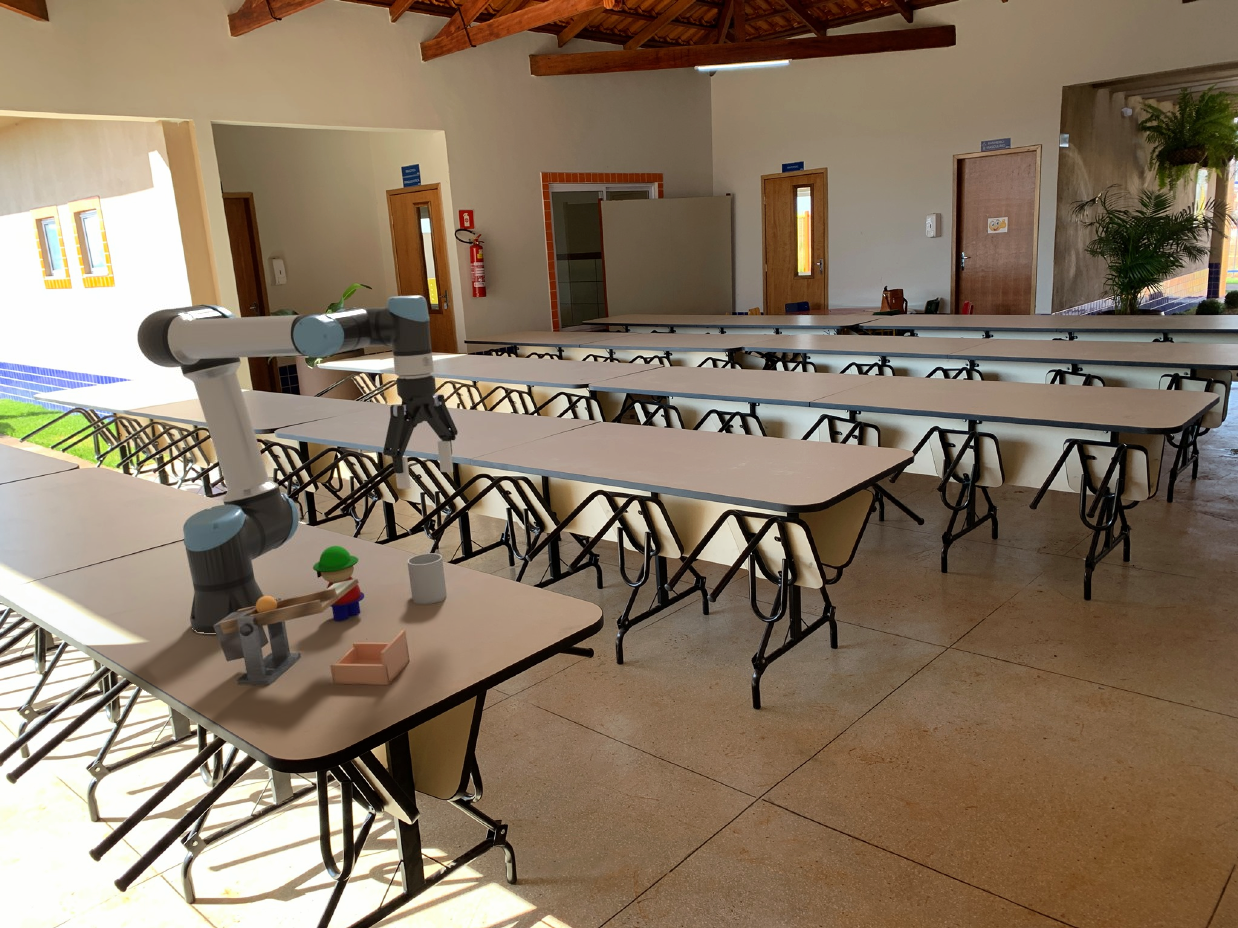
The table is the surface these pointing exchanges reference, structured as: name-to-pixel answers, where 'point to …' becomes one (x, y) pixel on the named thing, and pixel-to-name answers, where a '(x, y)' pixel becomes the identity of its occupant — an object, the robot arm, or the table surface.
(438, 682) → the table surface
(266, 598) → the ball
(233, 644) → the lever
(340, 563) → the toy
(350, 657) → the pink open box
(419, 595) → the cup
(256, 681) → the bracket
